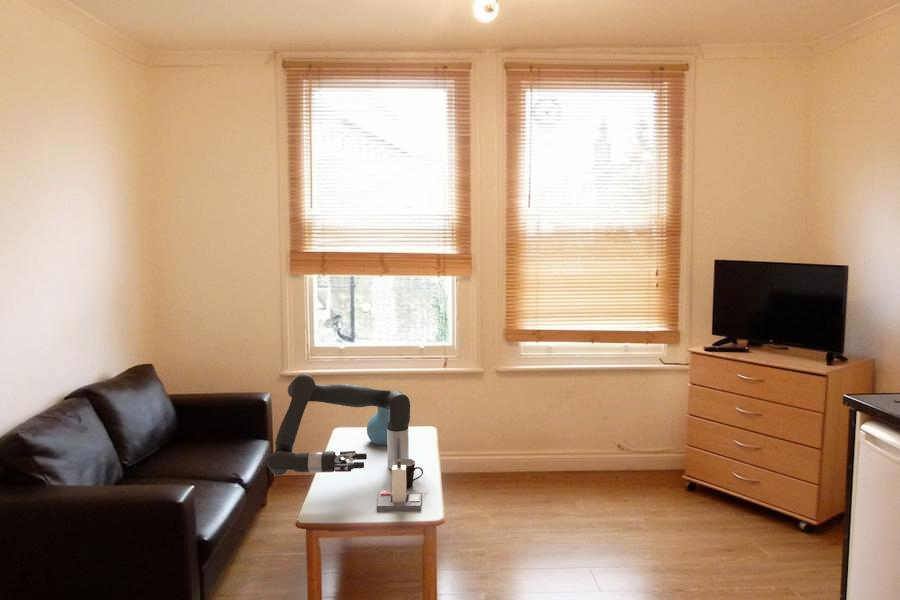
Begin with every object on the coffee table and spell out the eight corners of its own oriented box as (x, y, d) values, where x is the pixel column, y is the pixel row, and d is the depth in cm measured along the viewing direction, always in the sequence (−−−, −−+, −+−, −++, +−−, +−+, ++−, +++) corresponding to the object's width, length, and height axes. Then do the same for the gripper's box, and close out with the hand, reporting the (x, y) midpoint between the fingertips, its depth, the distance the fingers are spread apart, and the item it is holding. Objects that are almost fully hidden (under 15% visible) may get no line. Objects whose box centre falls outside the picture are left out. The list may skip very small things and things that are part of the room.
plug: (393, 500, 233) (392, 458, 231) (406, 500, 233) (406, 458, 231) (392, 505, 228) (391, 463, 226) (405, 505, 228) (405, 463, 226)
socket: (379, 497, 236) (379, 490, 236) (421, 496, 236) (421, 490, 236) (376, 511, 224) (376, 504, 224) (420, 510, 225) (420, 503, 224)
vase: (376, 450, 287) (375, 398, 285) (361, 440, 301) (360, 390, 298) (407, 443, 296) (406, 393, 294) (391, 434, 310) (390, 386, 307)
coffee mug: (389, 486, 246) (389, 462, 245) (405, 480, 252) (405, 456, 251) (408, 494, 238) (408, 470, 237) (424, 488, 244) (424, 464, 243)
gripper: (318, 459, 222) (362, 458, 222) (324, 445, 236) (367, 444, 236) (319, 479, 222) (363, 477, 223) (325, 464, 237) (367, 462, 237)
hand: (365, 460), depth 230 cm, fingers open, 8 cm apart
